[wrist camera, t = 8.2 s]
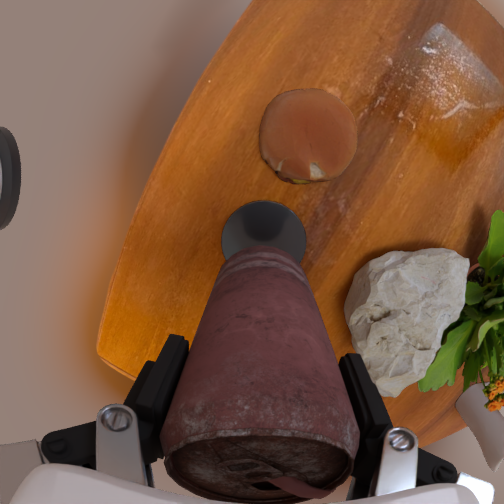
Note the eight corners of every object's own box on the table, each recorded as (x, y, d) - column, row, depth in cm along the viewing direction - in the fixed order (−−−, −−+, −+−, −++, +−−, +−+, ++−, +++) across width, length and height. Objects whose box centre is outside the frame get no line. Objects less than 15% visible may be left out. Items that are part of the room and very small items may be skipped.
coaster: (218, 275, 31) (218, 277, 31) (226, 195, 29) (225, 195, 28) (298, 285, 31) (298, 287, 31) (312, 206, 29) (312, 206, 28)
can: (284, 336, 20) (301, 517, 7) (204, 304, 20) (139, 484, 6) (325, 267, 19) (416, 443, 5) (238, 228, 18) (181, 395, 5)
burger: (326, 82, 24) (337, 69, 20) (364, 160, 27) (381, 160, 22) (241, 118, 26) (236, 109, 22) (281, 197, 29) (284, 203, 24)
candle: (484, 403, 39) (519, 458, 20) (449, 410, 39) (485, 478, 19) (501, 379, 37) (542, 434, 18) (467, 384, 36) (512, 453, 17)
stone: (456, 221, 25) (516, 334, 15) (443, 276, 32) (480, 372, 22) (331, 253, 29) (359, 391, 19) (340, 304, 36) (358, 412, 25)
